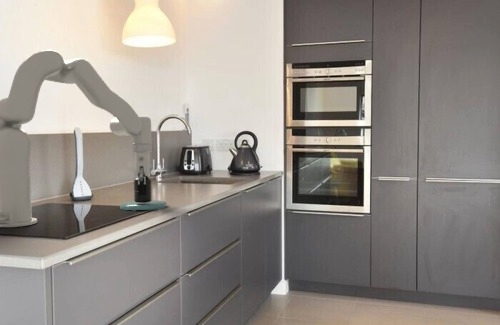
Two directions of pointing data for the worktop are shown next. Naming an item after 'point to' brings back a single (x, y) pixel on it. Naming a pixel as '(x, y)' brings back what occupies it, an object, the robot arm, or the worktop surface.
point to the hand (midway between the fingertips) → (142, 193)
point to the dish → (143, 205)
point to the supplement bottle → (148, 190)
